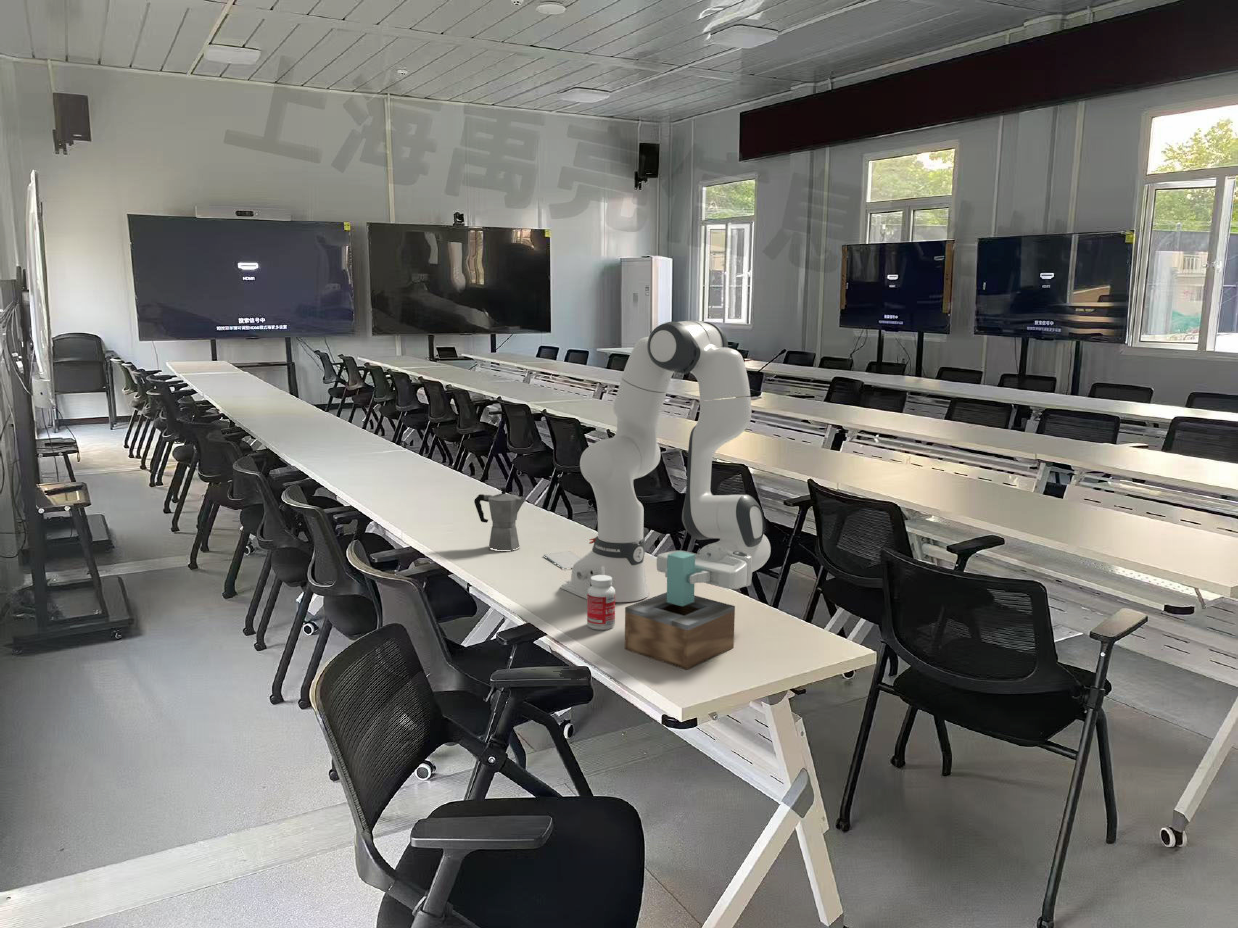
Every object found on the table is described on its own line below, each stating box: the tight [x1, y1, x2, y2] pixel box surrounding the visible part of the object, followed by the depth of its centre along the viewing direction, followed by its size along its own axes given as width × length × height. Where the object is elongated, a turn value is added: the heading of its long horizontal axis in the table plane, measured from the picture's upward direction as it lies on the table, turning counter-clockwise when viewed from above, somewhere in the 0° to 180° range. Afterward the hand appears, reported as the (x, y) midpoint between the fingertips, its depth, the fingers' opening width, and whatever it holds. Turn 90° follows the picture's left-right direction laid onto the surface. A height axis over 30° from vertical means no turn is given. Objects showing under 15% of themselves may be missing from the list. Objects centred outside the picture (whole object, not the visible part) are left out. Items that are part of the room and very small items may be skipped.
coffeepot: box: [473, 486, 527, 550], centre depth 265 cm, size 15×9×18 cm, turn 80°
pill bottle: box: [586, 575, 616, 631], centre depth 202 cm, size 6×6×11 cm
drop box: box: [624, 591, 736, 671], centre depth 189 cm, size 16×16×9 cm
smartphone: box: [543, 551, 582, 569], centre depth 254 cm, size 8×1×15 cm
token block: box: [666, 550, 696, 606], centre depth 187 cm, size 4×4×10 cm
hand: (678, 576), depth 186 cm, fingers closed on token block, 4 cm apart
